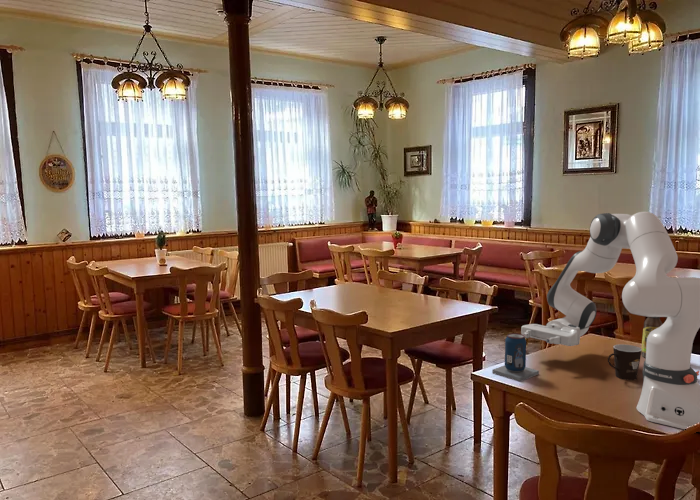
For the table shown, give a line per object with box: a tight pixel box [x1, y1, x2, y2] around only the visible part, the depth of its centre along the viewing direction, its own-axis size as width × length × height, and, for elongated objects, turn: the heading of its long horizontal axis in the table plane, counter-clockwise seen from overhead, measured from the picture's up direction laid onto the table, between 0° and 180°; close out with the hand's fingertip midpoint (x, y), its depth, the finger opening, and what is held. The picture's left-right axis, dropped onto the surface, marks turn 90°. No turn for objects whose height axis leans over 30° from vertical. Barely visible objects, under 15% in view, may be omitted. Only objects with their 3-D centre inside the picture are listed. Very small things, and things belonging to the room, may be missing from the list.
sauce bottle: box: [641, 317, 663, 359], centre depth 212 cm, size 6×6×20 cm
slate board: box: [491, 364, 540, 382], centre depth 197 cm, size 11×11×1 cm
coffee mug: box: [607, 343, 642, 381], centre depth 192 cm, size 12×9×10 cm
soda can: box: [504, 332, 527, 372], centre depth 197 cm, size 7×7×12 cm
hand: (536, 338), depth 203 cm, fingers open, 8 cm apart
